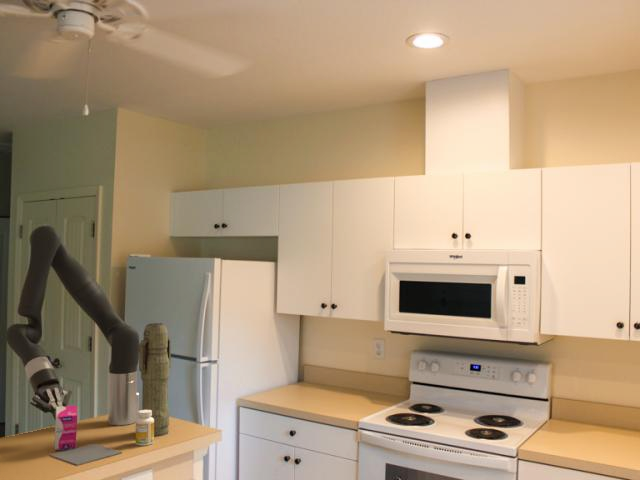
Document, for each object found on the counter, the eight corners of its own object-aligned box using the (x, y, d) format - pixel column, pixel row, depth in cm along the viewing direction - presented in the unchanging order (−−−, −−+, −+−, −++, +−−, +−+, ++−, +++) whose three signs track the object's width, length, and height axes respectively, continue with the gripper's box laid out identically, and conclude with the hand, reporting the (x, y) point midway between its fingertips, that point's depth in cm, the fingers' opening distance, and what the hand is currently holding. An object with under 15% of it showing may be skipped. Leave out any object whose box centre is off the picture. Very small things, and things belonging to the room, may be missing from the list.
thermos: (130, 436, 196) (132, 324, 198) (156, 427, 207) (157, 321, 208) (152, 439, 192) (153, 325, 194) (177, 430, 203) (178, 322, 204)
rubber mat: (94, 444, 187) (94, 443, 187) (122, 453, 179) (122, 452, 179) (49, 455, 176) (49, 454, 176) (77, 465, 168) (77, 464, 168)
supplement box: (54, 451, 180) (55, 416, 177) (54, 440, 185) (55, 406, 182) (76, 449, 182) (77, 414, 180) (75, 438, 188) (76, 404, 185)
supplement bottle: (148, 439, 192) (148, 408, 193) (157, 443, 188) (157, 411, 189) (132, 443, 188) (132, 411, 189) (140, 447, 185) (141, 414, 185)
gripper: (24, 370, 186) (45, 417, 178) (66, 364, 197) (87, 409, 189) (16, 386, 189) (35, 433, 181) (57, 379, 200) (77, 424, 192)
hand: (61, 421), depth 185 cm, fingers closed
